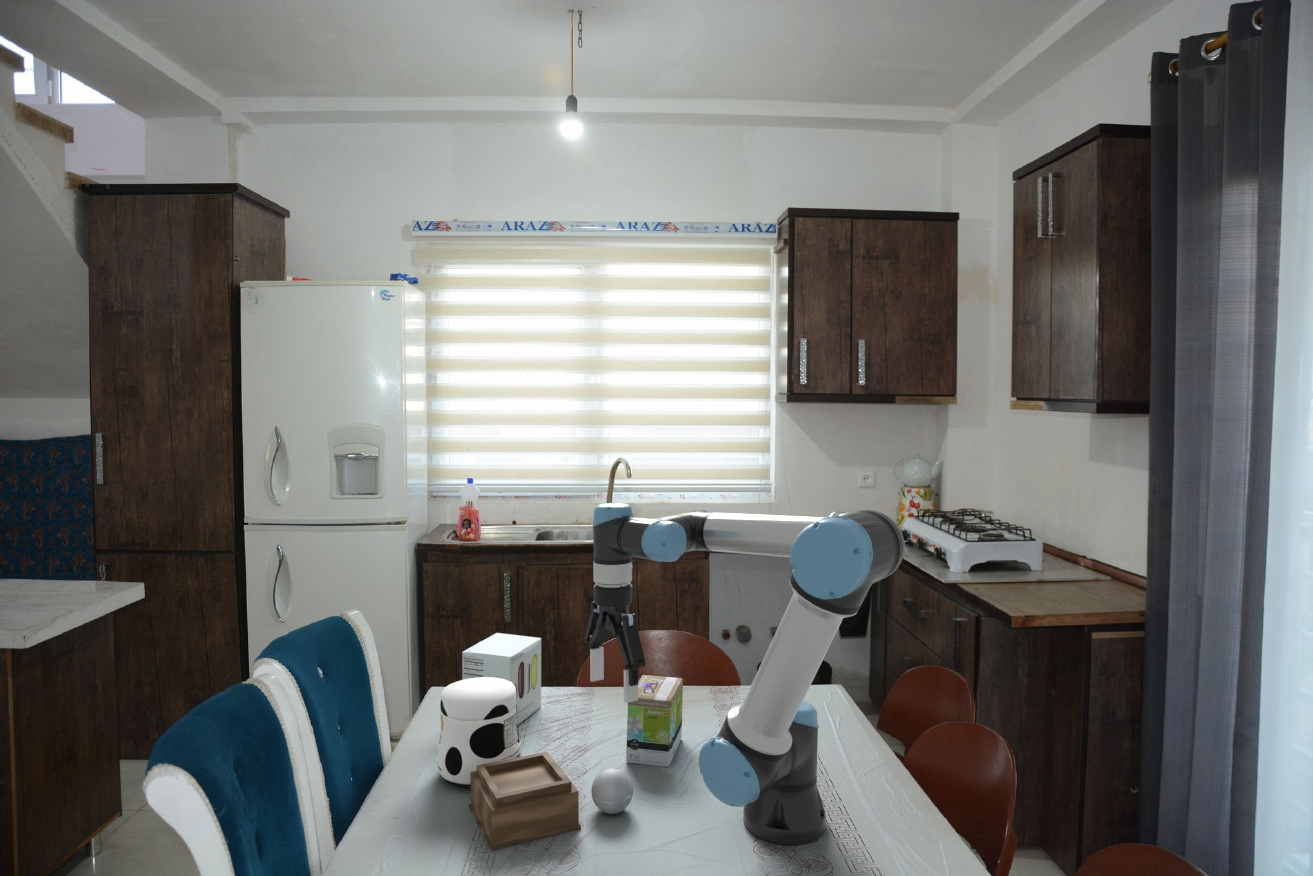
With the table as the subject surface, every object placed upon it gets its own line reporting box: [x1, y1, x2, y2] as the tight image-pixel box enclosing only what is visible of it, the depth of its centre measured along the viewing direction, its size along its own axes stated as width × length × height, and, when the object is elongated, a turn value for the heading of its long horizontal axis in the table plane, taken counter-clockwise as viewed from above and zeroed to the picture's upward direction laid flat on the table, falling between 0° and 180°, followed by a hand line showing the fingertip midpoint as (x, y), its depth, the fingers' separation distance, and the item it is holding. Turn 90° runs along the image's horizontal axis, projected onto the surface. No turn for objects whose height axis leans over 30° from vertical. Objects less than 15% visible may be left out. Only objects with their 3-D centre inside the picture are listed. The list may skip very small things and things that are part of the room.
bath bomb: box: [591, 767, 634, 815], centre depth 155 cm, size 8×8×8 cm
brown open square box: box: [468, 751, 582, 852], centre depth 152 cm, size 17×17×8 cm
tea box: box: [625, 674, 684, 768], centre depth 181 cm, size 15×10×15 cm
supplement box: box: [461, 632, 542, 726], centre depth 200 cm, size 17×13×18 cm
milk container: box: [435, 677, 522, 787], centre depth 169 cm, size 17×17×18 cm
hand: (613, 690), depth 159 cm, fingers open, 13 cm apart
